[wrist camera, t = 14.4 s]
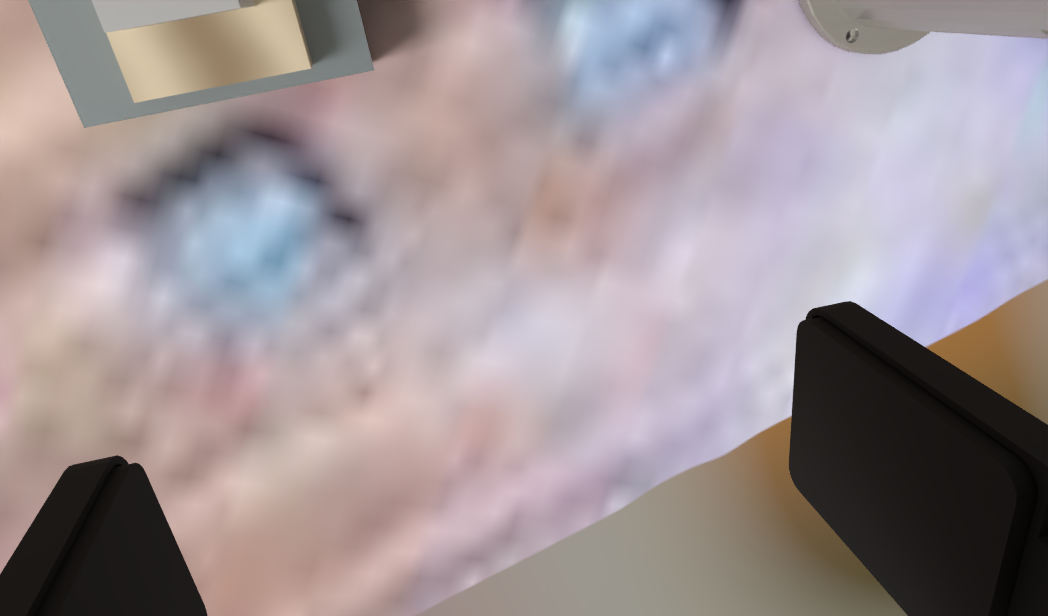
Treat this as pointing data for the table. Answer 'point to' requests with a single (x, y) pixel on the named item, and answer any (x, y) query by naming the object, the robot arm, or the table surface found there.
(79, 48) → the dock
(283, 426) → the table surface
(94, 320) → the table surface
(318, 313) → the table surface
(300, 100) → the table surface
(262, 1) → the pallet
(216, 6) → the block
